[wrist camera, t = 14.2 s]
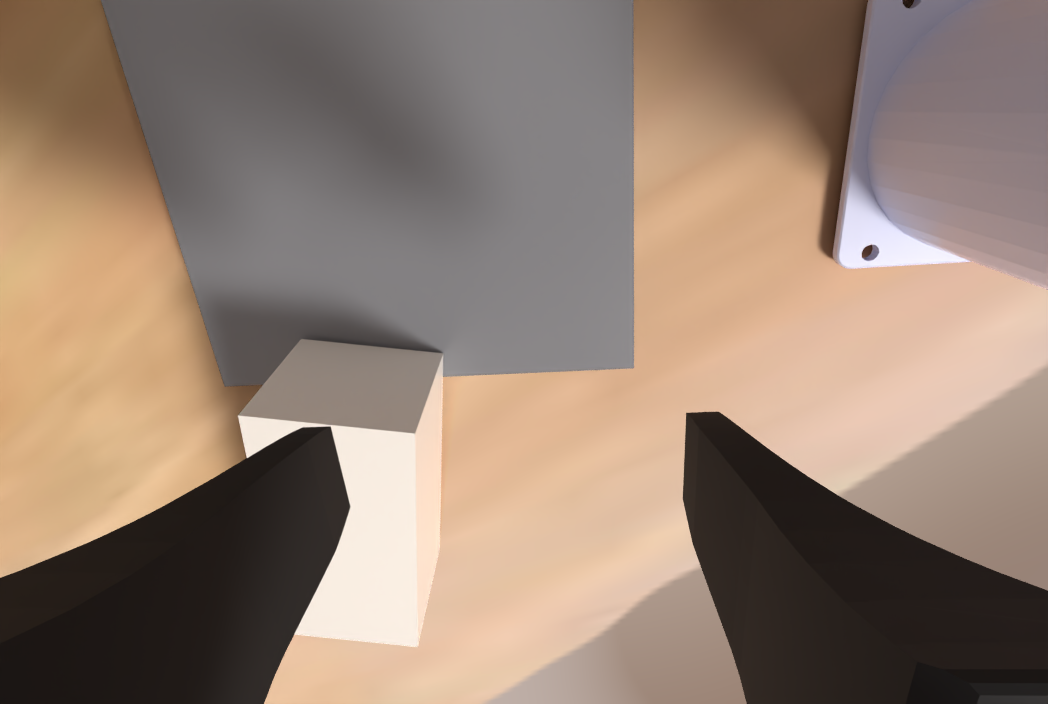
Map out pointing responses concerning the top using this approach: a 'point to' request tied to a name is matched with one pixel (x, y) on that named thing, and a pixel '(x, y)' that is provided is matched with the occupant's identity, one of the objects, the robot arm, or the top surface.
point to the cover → (367, 478)
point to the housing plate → (396, 174)
